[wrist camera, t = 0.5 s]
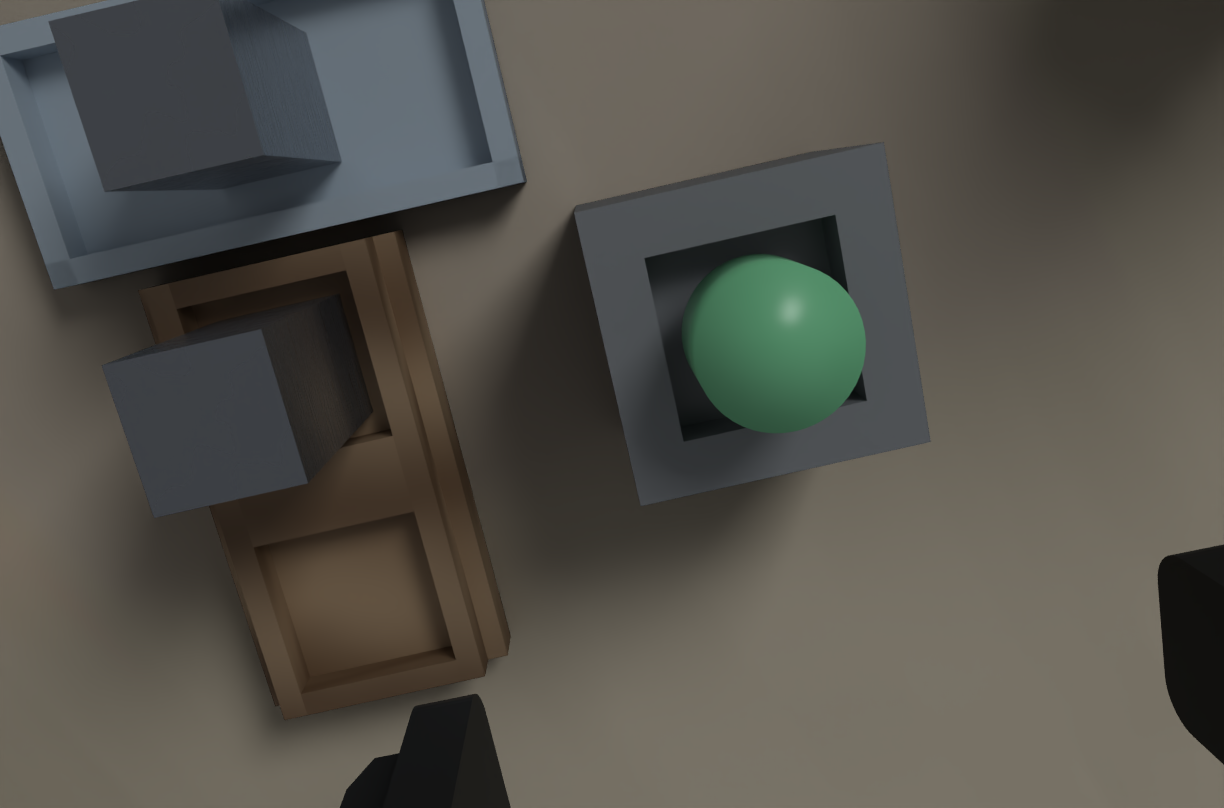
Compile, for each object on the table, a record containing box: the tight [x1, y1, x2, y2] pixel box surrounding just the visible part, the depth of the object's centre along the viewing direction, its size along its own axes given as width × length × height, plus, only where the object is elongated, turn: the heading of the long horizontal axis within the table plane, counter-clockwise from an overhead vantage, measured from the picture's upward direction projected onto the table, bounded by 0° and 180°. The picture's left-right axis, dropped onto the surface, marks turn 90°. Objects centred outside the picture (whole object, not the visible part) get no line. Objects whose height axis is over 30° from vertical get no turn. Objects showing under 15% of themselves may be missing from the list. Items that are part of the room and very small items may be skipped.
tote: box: [0, 0, 527, 290], centre depth 31 cm, size 8×15×2 cm, turn 103°
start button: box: [682, 254, 866, 433], centre depth 24 cm, size 4×4×3 cm
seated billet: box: [102, 293, 373, 518], centre depth 28 cm, size 4×4×8 cm
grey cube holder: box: [574, 142, 931, 506], centre depth 30 cm, size 8×8×8 cm
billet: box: [48, 0, 342, 192], centre depth 28 cm, size 4×4×8 cm
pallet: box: [138, 230, 511, 720], centre depth 33 cm, size 15×8×3 cm, turn 13°
